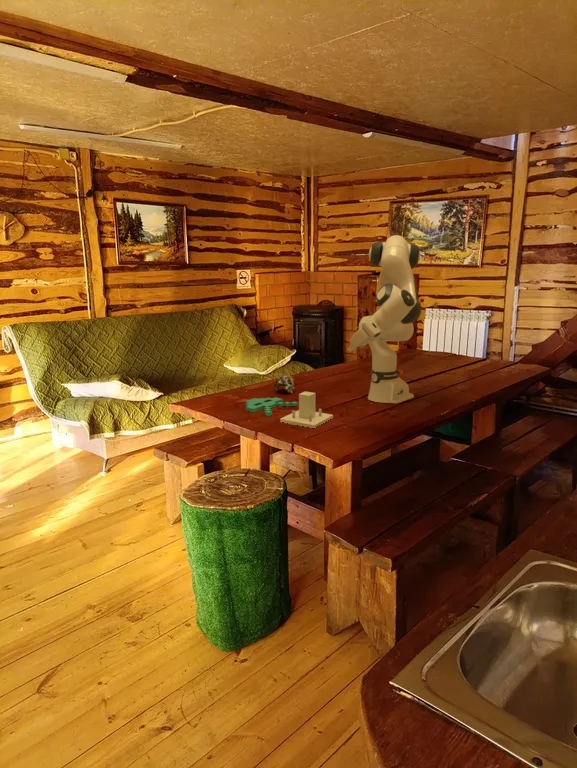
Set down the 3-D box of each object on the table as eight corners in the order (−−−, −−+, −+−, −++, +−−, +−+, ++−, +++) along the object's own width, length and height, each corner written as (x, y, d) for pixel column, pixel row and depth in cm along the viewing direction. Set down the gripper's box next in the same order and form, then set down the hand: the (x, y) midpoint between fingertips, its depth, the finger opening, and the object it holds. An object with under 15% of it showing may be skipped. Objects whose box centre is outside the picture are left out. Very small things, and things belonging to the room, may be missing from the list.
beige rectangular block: (305, 414, 232) (305, 391, 230) (315, 416, 230) (315, 393, 227) (298, 417, 228) (298, 394, 226) (309, 419, 225) (309, 395, 223)
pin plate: (300, 412, 240) (300, 402, 239) (333, 418, 232) (333, 408, 230) (280, 422, 227) (280, 411, 226) (314, 428, 218) (314, 418, 217)
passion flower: (290, 403, 272) (291, 388, 263) (269, 398, 274) (269, 383, 265) (296, 386, 279) (297, 371, 270) (276, 381, 281) (276, 366, 272)
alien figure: (297, 407, 249) (264, 399, 262) (297, 402, 249) (264, 395, 261) (268, 417, 234) (235, 409, 247) (268, 412, 234) (235, 404, 246)
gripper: (384, 316, 217) (360, 338, 224) (361, 322, 200) (337, 346, 208) (394, 328, 215) (370, 350, 223) (372, 335, 199) (347, 359, 206)
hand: (354, 348), depth 215 cm, fingers open, 8 cm apart
